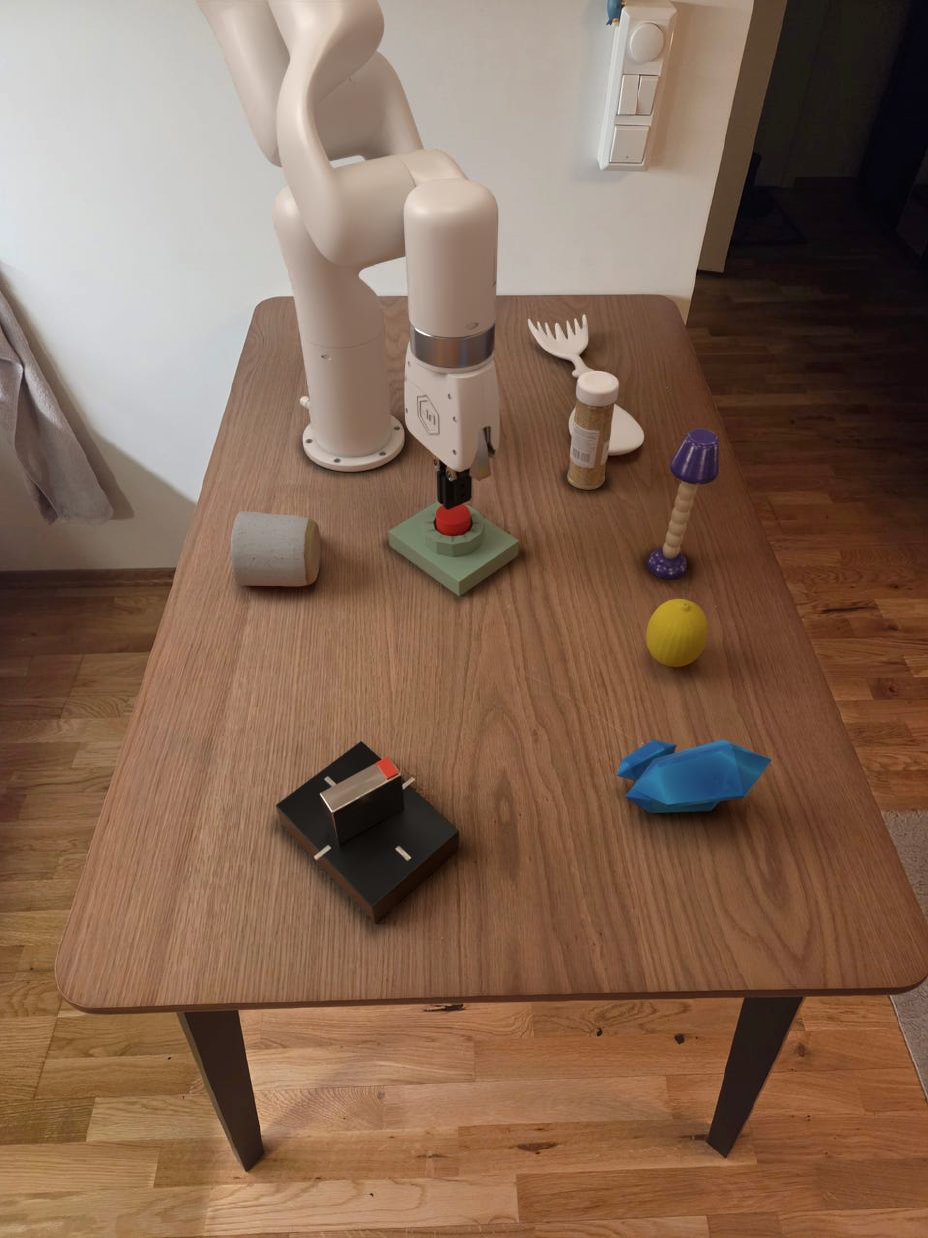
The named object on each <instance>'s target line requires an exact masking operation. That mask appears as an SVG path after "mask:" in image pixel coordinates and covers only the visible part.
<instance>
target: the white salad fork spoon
mask: <svg viewBox="0 0 928 1238" xmlns="http://www.w3.org/2000/svg"><path fill="white" fill-rule="evenodd" d="M573 321H574V331H573V329H572V327H571V324H570V321H569V320H566V331H567V332H566V333H567V336H566V335H565V332H564V331H563V329H562V326H561V325H560V324H559V323H558V322H556V323H555V324H554V332H555V337H554V335H553V334H552V331H551V329H550V326H549V324H548V322H547V321H546V322H545V323H544V326H545V330H544V329H543V327H542V325H541V323H540V321H537V322H536V323H537V325H536V326H537V328H536V327H535V325H534V323H533V322H532V320H531V318H528V319H527V325H528V328H529V330H530V333H531V334H532V336H533V337H534V338H535V340H536V342H537V343H538V345H539V346H540V347H541V348H542V349H543V350H544V351H545V352H547V353H548V354H550V355H551V356H554V357H556V358H558V359H562V360H566V361H570V362H572V364H573V366H574V368H575V369H574V370H572V372H571V374H572V377H573V378H574V379H578V378H579V377H580V376H581V375H582V374H584V373H586V372H590V371H595V370H594V369H592V368H590V367H588V366H587V365H586V364H585V362H584V360H583V359H582V358H581V356H580V355H582V353H583V352H584V351H585V349H586V348H587V347H588V345H589V325H588V319H587V316H586V314H584V313H583V314H582V327H581V326H580V324H579V322H578V319H577V318H576V317H574V320H573ZM574 333H575V334H574ZM575 409H576V406H575V407H574V408H573V410H572V412H571V414H570V416H569V418H568V430H569V434H570V436H571V437H572V431H573V422H574V416H575ZM644 440H645V434H644V431H643V428H642V427H641V426H640V424H639V423H638V422H637V421H636V419H635V418H634V417H633V416H632V415H631V414H630V413H628V412H627V411H626V410H625V409H623V408H621V406H619V405H618V404H616V403H615V404H614V411H613V417H612V425H611V435H610V442H609V450H608V456H622V455H626V454H629V453H631V452H633V451H635V450H637V449H639V447H641V445H643V443H644Z"/></svg>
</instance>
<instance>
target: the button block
mask: <svg viewBox="0 0 928 1238" xmlns="http://www.w3.org/2000/svg"><path fill="white" fill-rule="evenodd" d="M441 505H443V504H440V503H439V502H438V500H436V501H434V502H433V503H432V504H430V505H428V506H426V507H425V508H424V509H422V510H420V511H418V512H417V513H415V514H414V515H412V516H410V517H409V518H407V519H405V520H404V521H402V522H400V523H399V524H397V525H395V526H394V527H392V528H391V529H389V530H388V543H389V545H388V546H389V547H391V548H392V549H393V550H394V551H396V552H398V554H400V555H402V556H403V557H404V558H405V559H407V560H409V561H410V562H411V563H412V564H414V565H415V566H416V567H418V568H419V569H421V570H422V571H423V572H425V573H426V574H428V575H429V576H430V577H432V578H433V579H434V580H436V581H437V582H439V583H440V584H441V585H442V586H443V587H446V588H447V589H448V590H449V591H451V592H452V593H453V594H455V595H456V596H458V597H461V596H462V595H464V594H465V593H467V592H468V591H469V590H471V589H472V588H474V587H475V586H477V585H478V584H479V583H481V582H482V581H484V580H485V579H487V578H488V577H489V576H491V575H492V574H493V573H495V572H496V571H498V570H499V569H501V568H503V566H505V565H506V564H508V563H509V562H511V561H512V560H515V558H517V557H518V556H519V545H520V540H519V539H518V538H516V537H514V536H512V535H511V534H510V533H508V532H506V530H504V529H502V528H500V527H499V526H497V525H496V524H494V523H493V522H492V521H490V520H488V519H487V518H485V517H484V516H482V513H481V512H480V511H478V510H477V509H475V508H473V507H472V506H471V505H468V504H465V503H463V505H465V506H466V507H468V509H469V510H470V529H469V530H468V532H466V533H465V534H463V535H459V536H453V537H452V536H447V535H443V534H441V533H440V532H439V531H438V530H437V527H436V511H437V509H438V508H439V507H440V506H441Z"/></svg>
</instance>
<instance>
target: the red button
mask: <svg viewBox="0 0 928 1238" xmlns="http://www.w3.org/2000/svg"><path fill="white" fill-rule="evenodd" d="M463 504H464V503H463ZM463 504H461V505H458V506H456V507H454V508H452V509H449V510H447V509H446V508H444V506H443V505H441V506H440V507H439V508H438V509H437V511H436V527H437V530H438V531H439V532H440V533H441V534H443V535H447V536H452V537H453V536H459V535H463V534H465V533H466V532H468V530H469V529H470V510H469V509H468V507H466V506H465V505H466V504H464V505H463Z"/></svg>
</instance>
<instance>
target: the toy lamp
mask: <svg viewBox="0 0 928 1238" xmlns="http://www.w3.org/2000/svg"><path fill="white" fill-rule="evenodd" d="M669 470H670V472H671V473H672V476H674V477H675V478H676V479H678V480H680V481H681V483H680V484H679V486H678V488H677V495H676V497H675V500H674V507H673V509H672V511H671V519H670V520H669V522H668V528H667V529H668V531H667V532H666V535H665V542H664V543H663V546H662V547H659V548H656V549H655V550H654V551H652V552H651V553H650V555H649V557H648V558H647V560H646V566H647V569H648V570H649V572H650V573H651V574H652V575H654V576H655V577H657V578H660V579H664V580H677V579H680V578H681V577H683V576H684V575H685V574H686V573H687V569H688V564H687V563H688V562H687V559H686V557H685V555H684V554H683V553H682V552H681V545H682V543H683V541H684V533H685V532H686V530H687V528H688V527H687V525H688V523H687V522H688V521H689V518H690V516H691V508H692V507H693V505H694V497H695V496H696V495H697V492H698V485H707V484H710V483H713V482H714V481H715V480H716V479H717V477H718V476H719V472H720V442H719V437H718V436H717V434H716V433H714V432H713V431H711V430H710V429H707V428H694V429H691V430H689V431H688V432H687V433H686V435H685V436H684V438H683V439H682V441H681V443H680V445H679V446H678V448H677V450H676V451H675V453H674V455H673V456H672V458H671V460H670V463H669Z"/></svg>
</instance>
